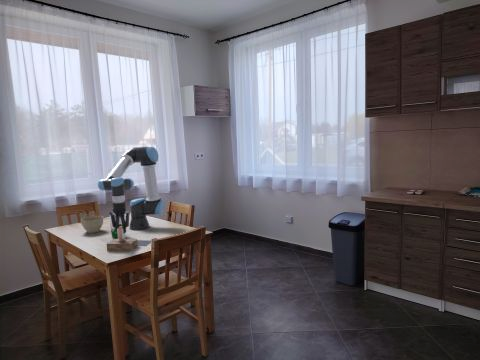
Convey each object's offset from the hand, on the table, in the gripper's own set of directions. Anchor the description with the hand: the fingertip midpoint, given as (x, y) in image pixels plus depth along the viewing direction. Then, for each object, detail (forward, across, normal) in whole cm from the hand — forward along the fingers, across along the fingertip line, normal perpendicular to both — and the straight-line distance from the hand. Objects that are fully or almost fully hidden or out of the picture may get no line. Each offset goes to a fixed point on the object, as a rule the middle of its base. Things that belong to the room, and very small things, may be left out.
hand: (121, 237), depth 215 cm
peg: (+3, 0, 0) cm, 3 cm away
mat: (+7, +8, +11) cm, 16 cm away
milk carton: (+8, -17, +25) cm, 31 cm away
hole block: (+8, 0, 0) cm, 8 cm away
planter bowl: (+8, -45, +38) cm, 60 cm away
